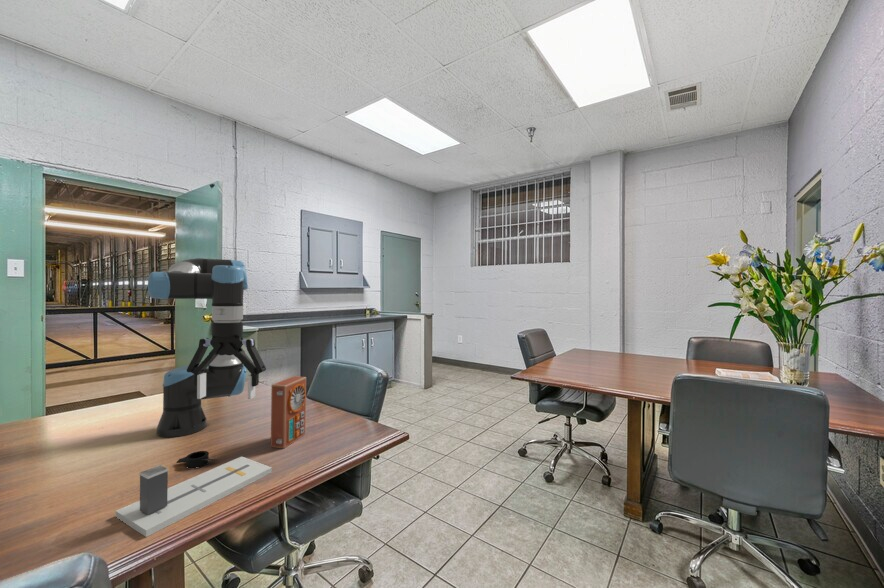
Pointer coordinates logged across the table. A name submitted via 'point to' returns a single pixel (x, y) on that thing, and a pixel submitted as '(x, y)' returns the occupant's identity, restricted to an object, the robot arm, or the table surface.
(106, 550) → the table surface
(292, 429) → the control panel
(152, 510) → the slider handle
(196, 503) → the fader board
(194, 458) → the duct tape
